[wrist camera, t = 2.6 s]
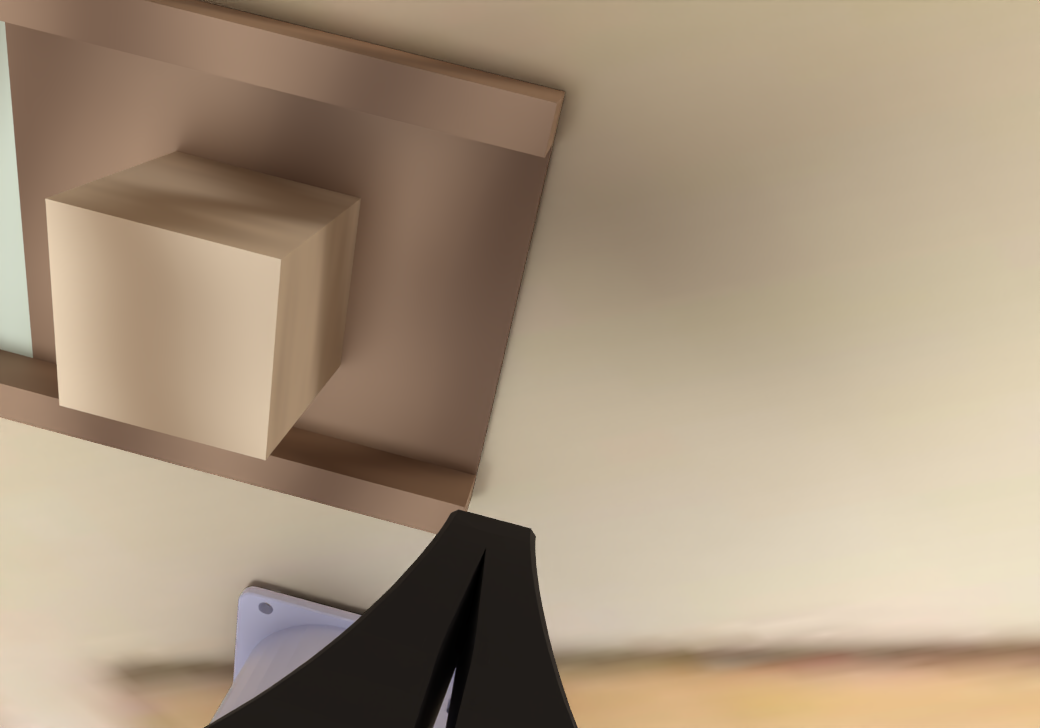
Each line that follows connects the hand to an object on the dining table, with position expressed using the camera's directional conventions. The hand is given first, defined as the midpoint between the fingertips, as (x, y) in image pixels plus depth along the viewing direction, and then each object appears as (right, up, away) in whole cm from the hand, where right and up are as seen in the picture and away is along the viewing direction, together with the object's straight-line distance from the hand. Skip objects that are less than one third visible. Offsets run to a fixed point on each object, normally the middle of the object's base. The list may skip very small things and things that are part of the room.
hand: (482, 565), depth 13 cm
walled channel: (-9, +7, +9) cm, 15 cm away
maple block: (-6, +6, +9) cm, 12 cm away
